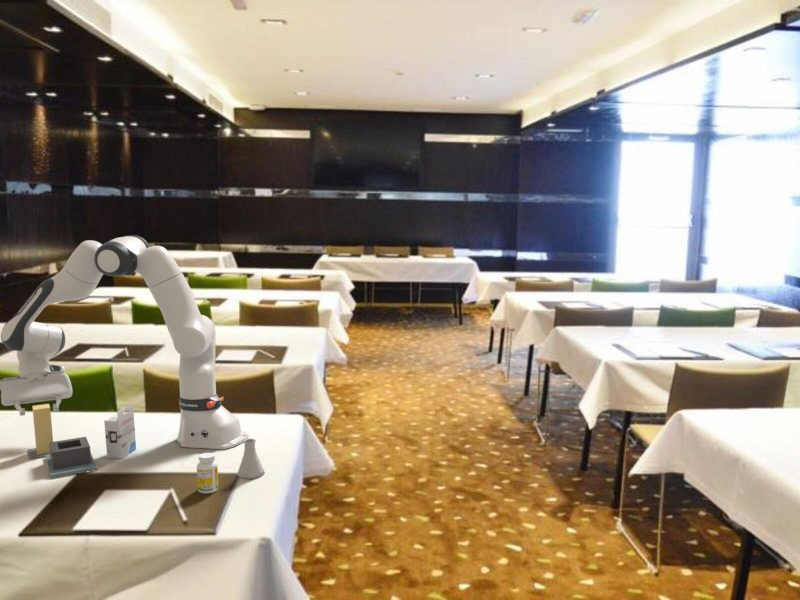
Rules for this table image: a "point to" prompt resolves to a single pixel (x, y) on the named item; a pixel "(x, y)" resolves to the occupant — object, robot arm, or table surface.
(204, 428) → the robot arm
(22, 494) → the table surface
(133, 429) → the ink box
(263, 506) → the table surface
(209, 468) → the supplement bottle
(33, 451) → the pad
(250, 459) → the flask
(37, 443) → the plug
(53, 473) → the board
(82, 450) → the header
